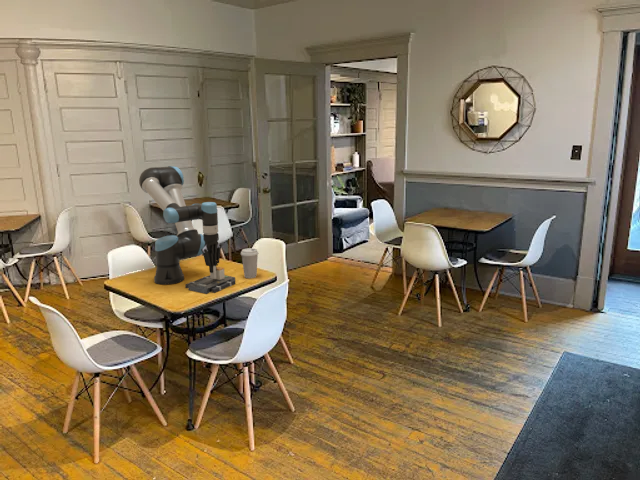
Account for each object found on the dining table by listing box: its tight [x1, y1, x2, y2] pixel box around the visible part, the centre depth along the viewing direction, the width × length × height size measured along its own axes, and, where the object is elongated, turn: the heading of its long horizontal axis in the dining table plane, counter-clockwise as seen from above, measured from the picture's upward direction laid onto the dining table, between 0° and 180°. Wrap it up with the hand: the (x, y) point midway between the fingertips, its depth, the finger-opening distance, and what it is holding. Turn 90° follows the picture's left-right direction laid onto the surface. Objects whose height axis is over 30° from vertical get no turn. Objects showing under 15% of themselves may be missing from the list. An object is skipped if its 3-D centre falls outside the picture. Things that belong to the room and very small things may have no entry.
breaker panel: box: [187, 274, 236, 295], centre depth 249 cm, size 12×22×3 cm, turn 151°
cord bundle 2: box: [211, 280, 236, 294], centre depth 246 cm, size 3×16×2 cm, turn 151°
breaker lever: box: [215, 266, 225, 280], centre depth 252 cm, size 5×4×6 cm
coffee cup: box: [240, 247, 259, 279], centre depth 263 cm, size 10×10×15 cm
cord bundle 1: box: [184, 274, 210, 289], centre depth 253 cm, size 5×18×2 cm, turn 151°
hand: (213, 278), depth 249 cm, fingers closed
